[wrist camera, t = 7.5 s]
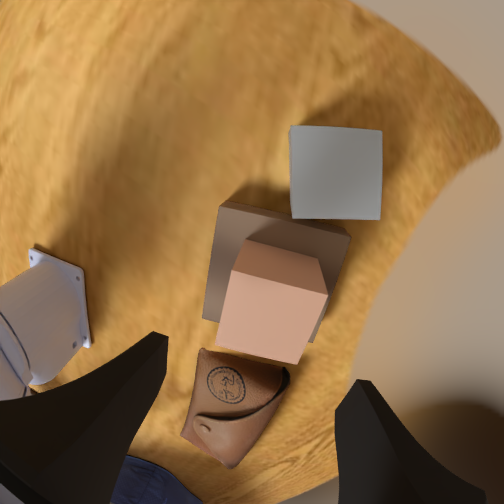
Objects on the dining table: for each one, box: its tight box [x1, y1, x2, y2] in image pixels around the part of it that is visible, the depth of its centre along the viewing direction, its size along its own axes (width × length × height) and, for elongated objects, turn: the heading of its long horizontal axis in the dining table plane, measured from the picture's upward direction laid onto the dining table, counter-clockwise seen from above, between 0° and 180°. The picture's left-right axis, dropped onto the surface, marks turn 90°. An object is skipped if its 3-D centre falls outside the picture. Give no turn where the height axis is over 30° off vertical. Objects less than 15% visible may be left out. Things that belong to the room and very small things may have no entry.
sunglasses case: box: [180, 348, 290, 469], centre depth 24 cm, size 18×7×7 cm, turn 165°
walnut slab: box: [202, 201, 351, 343], centre depth 18 cm, size 8×8×2 cm
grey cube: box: [289, 126, 383, 220], centre depth 14 cm, size 4×4×4 cm
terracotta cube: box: [215, 239, 328, 365], centre depth 15 cm, size 4×4×4 cm
